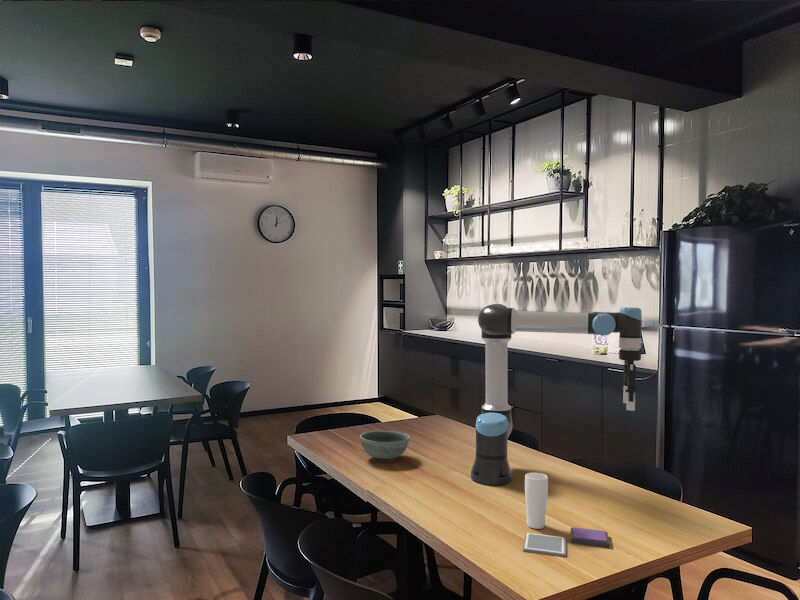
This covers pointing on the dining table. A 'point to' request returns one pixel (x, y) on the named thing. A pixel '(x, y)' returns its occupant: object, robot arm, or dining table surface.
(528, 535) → the plate
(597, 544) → the ink pad
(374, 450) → the bowl
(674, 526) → the dining table surface
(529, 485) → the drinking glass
